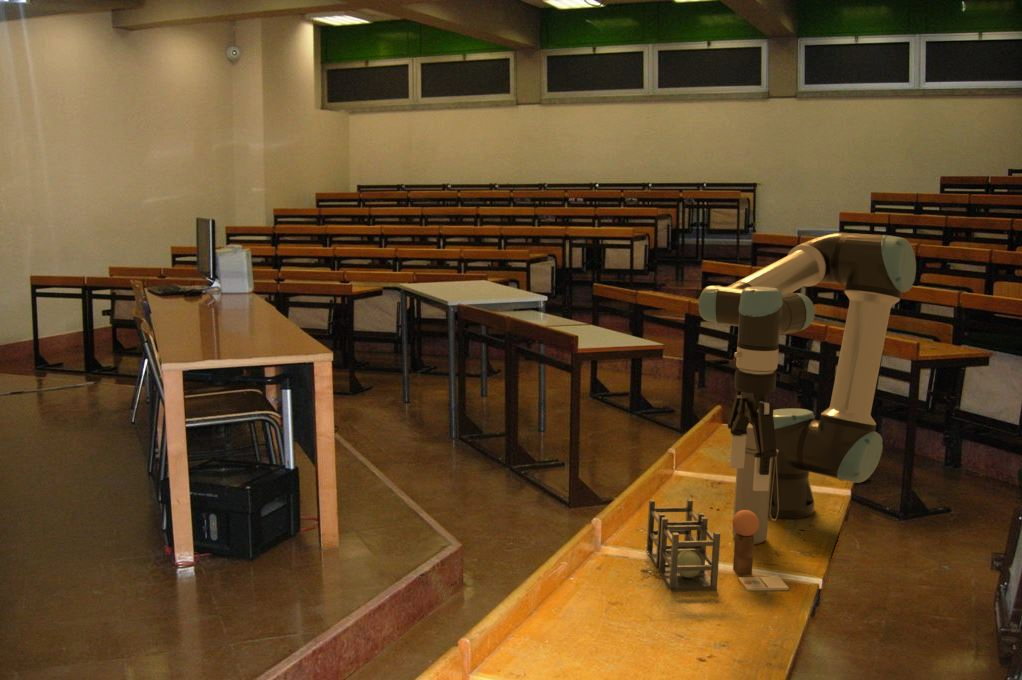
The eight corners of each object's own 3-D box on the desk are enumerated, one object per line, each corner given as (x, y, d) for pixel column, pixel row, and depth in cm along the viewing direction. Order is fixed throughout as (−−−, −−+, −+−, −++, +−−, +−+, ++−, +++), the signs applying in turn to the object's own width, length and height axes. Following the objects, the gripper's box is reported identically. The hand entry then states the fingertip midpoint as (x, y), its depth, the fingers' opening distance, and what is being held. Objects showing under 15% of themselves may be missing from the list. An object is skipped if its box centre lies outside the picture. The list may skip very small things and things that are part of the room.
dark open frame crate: (702, 570, 190) (706, 516, 188) (716, 589, 182) (720, 533, 180) (658, 571, 190) (661, 517, 188) (670, 590, 181) (673, 534, 179)
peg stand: (746, 568, 192) (749, 531, 190) (751, 574, 189) (754, 537, 188) (732, 568, 192) (735, 532, 190) (737, 574, 189) (740, 537, 187)
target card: (778, 578, 188) (778, 576, 187) (788, 589, 183) (788, 587, 183) (738, 579, 187) (738, 576, 187) (747, 590, 182) (747, 588, 182)
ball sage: (696, 570, 188) (697, 546, 187) (704, 581, 183) (705, 556, 182) (671, 571, 188) (672, 546, 187) (678, 582, 183) (679, 557, 182)
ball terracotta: (752, 530, 192) (754, 505, 191) (761, 539, 187) (763, 515, 186) (728, 530, 191) (729, 506, 190) (736, 540, 186) (738, 515, 185)
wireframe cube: (688, 550, 200) (691, 499, 198) (701, 567, 192) (704, 514, 190) (646, 551, 199) (649, 499, 197) (657, 568, 191) (660, 515, 189)
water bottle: (729, 543, 205) (736, 427, 200) (734, 530, 212) (741, 418, 208) (774, 549, 202) (783, 432, 197) (777, 536, 209) (786, 423, 204)
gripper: (716, 356, 195) (709, 459, 199) (759, 384, 171) (751, 500, 174) (752, 356, 196) (745, 459, 199) (801, 384, 171) (792, 500, 175)
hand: (748, 478), depth 187 cm, fingers open, 13 cm apart
